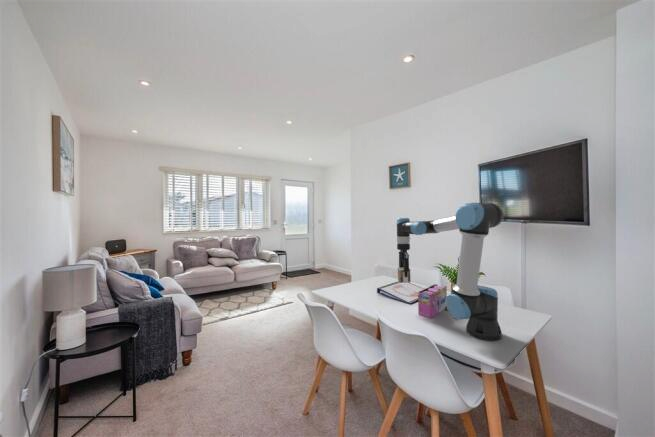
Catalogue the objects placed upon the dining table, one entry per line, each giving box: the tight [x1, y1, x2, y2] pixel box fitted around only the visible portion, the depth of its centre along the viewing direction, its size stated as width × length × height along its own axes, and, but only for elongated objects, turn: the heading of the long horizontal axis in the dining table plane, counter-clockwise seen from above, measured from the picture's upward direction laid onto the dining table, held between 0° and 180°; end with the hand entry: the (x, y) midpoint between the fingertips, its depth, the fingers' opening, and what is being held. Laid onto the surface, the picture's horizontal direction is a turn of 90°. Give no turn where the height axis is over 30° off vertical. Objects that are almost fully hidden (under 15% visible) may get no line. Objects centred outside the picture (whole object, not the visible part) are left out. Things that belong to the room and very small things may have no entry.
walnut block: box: [397, 266, 411, 284], centre depth 164 cm, size 6×6×8 cm
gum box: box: [417, 284, 448, 319], centre depth 162 cm, size 24×8×14 cm, turn 134°
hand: (404, 280), depth 164 cm, fingers closed on walnut block, 6 cm apart
